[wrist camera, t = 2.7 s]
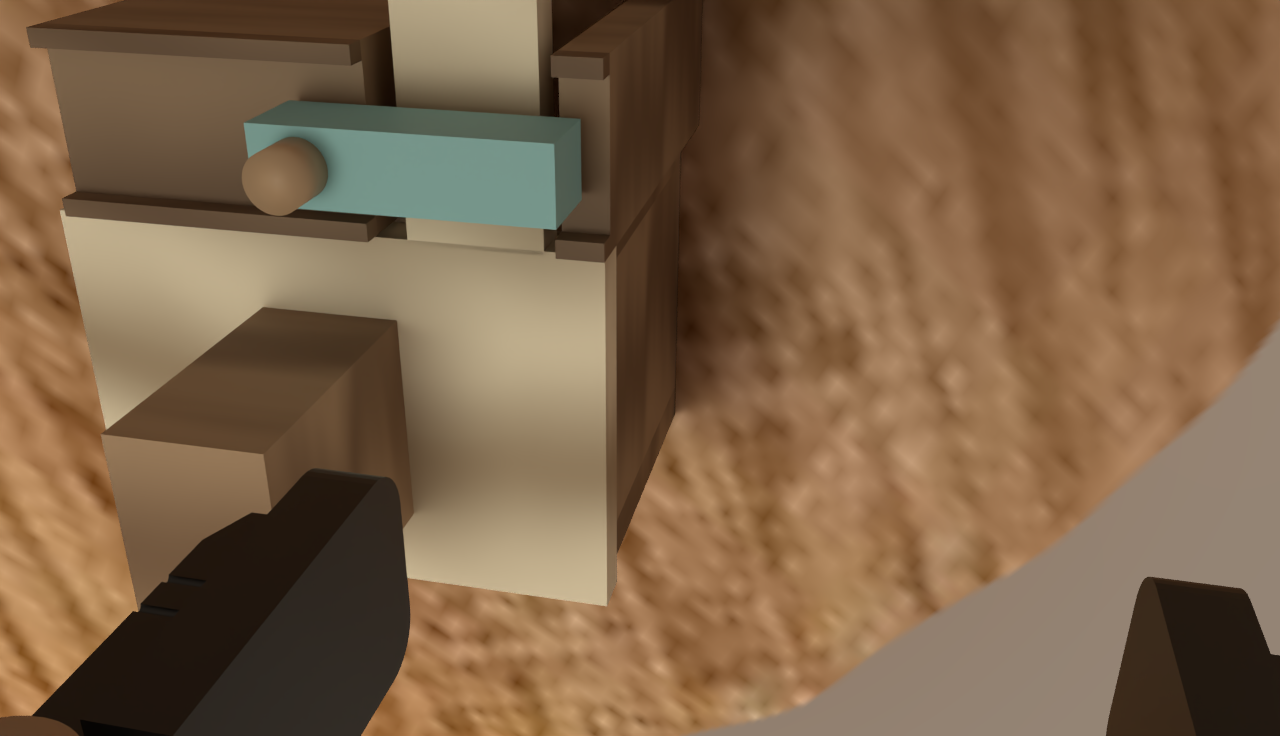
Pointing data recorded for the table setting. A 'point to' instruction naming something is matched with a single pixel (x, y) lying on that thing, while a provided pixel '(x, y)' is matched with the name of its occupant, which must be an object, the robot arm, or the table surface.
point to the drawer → (372, 357)
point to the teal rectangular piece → (414, 163)
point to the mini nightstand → (364, 75)
